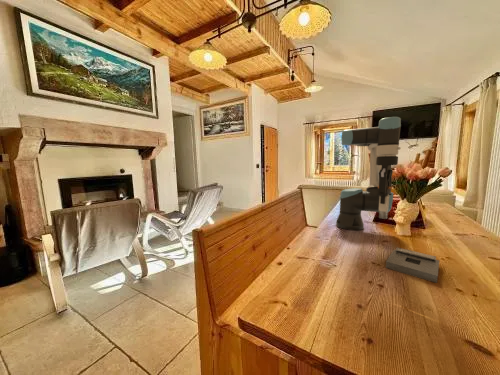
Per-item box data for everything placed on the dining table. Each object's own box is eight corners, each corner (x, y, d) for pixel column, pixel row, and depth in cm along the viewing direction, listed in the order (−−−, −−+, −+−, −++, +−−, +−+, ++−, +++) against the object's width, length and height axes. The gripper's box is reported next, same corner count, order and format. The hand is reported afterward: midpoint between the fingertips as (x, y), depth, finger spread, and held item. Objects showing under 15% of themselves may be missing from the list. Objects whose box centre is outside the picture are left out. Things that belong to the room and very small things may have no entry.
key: (375, 217, 88) (377, 186, 86) (377, 215, 91) (379, 185, 89) (388, 220, 84) (391, 187, 83) (390, 217, 87) (393, 186, 86)
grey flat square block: (385, 267, 75) (386, 257, 74) (393, 255, 84) (394, 245, 84) (436, 283, 65) (438, 271, 64) (438, 266, 75) (439, 256, 74)
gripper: (394, 155, 76) (389, 215, 79) (401, 155, 87) (397, 208, 90) (371, 156, 81) (368, 212, 84) (381, 156, 92) (378, 205, 95)
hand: (383, 210), depth 87 cm, fingers closed on key, 3 cm apart
